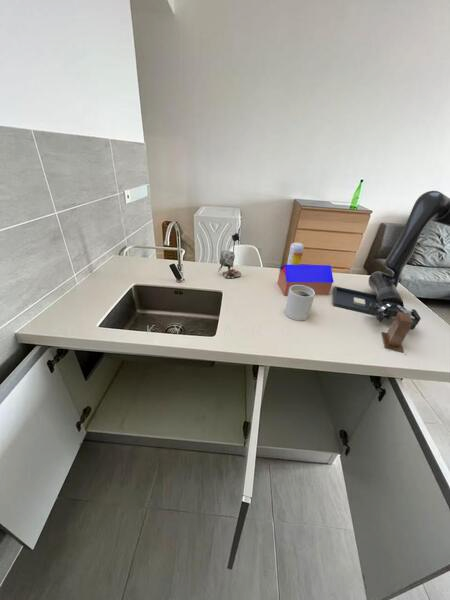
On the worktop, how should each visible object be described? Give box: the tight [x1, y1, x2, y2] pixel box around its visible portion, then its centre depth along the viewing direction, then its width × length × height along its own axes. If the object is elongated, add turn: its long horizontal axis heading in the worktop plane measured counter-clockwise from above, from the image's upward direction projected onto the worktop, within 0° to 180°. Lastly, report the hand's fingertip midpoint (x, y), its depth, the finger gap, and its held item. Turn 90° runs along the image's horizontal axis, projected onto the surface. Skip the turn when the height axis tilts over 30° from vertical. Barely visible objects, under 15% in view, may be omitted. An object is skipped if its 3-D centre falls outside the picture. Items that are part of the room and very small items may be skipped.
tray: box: [332, 286, 391, 320], centre depth 99 cm, size 20×16×2 cm
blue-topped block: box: [277, 264, 335, 297], centre depth 105 cm, size 12×20×12 cm, turn 94°
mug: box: [284, 285, 315, 321], centre depth 89 cm, size 11×10×10 cm
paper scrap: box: [353, 297, 365, 306], centre depth 99 cm, size 4×4×1 cm
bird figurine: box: [217, 232, 242, 279], centre depth 111 cm, size 8×11×20 cm
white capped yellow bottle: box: [286, 242, 305, 265], centre depth 118 cm, size 6×6×15 cm
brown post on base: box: [380, 312, 413, 354], centre depth 75 cm, size 5×8×12 cm, turn 158°
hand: (396, 323), depth 77 cm, fingers open, 8 cm apart
